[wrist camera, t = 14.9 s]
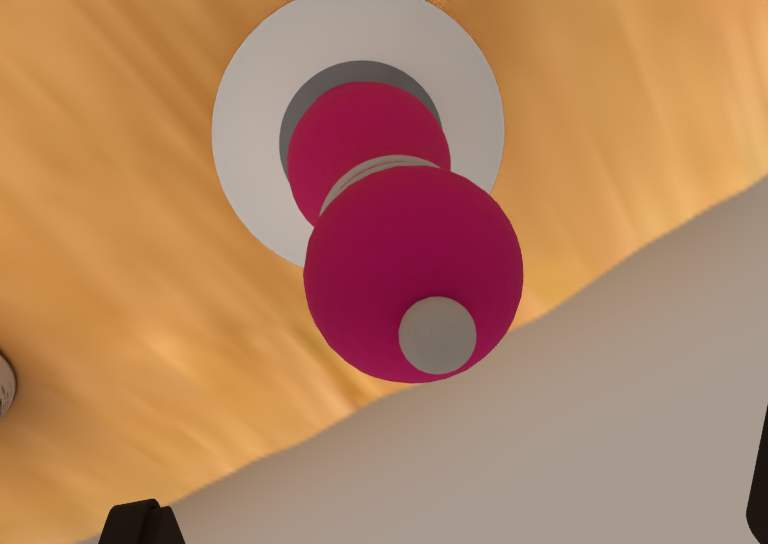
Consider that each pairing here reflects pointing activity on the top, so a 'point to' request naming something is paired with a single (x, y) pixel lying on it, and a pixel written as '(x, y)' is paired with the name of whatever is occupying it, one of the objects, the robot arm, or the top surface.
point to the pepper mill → (398, 238)
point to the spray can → (6, 386)
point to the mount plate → (336, 67)
